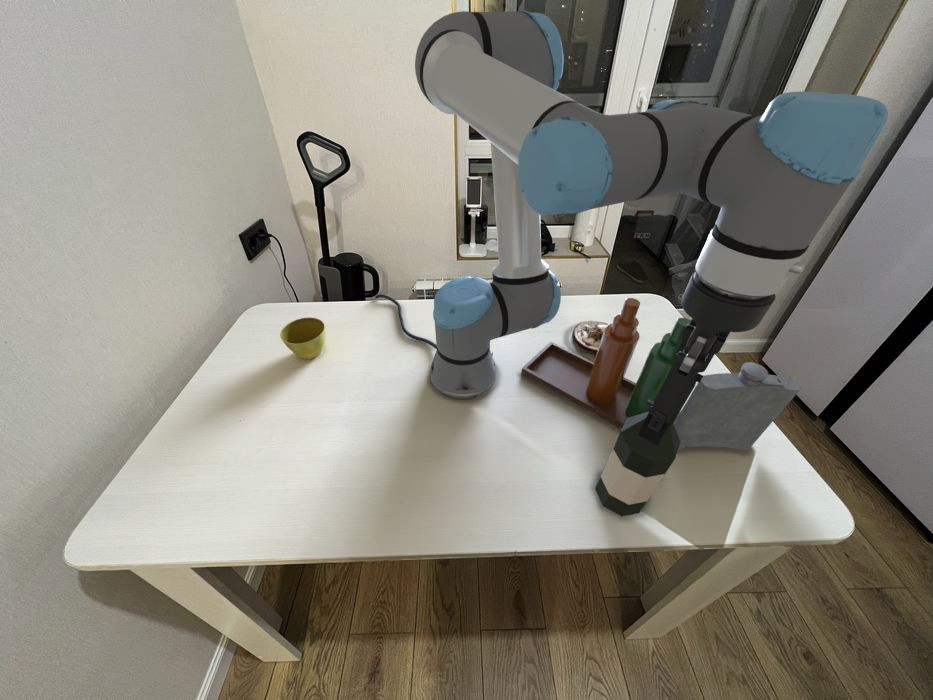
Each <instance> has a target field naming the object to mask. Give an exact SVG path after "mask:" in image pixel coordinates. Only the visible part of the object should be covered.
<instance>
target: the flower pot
mask: <svg viewBox="0 0 933 700" xmlns="http://www.w3.org/2000/svg"><path fill="white" fill-rule="evenodd" d="M279 337H280V339H281V341H282V342H283V344H284V345H285V346H286V347H287V349H289V350H290V351H291V352H292V353H293V354H295V355H296V356H298V357H300V358H302V359H305V360H311V359H315V358H317V357H318V356H320V355H321V353H322V352H323V349H324V346H325V344H326V343H325V342H326V325H325V323H324V321H323V320H321V319H320V318H317V317H308V316H307V317H300V318H297V319H294V320H292V321H290V322H288V323H287V324H285V326H283V327H282V329H281V331H280V334H279Z"/></svg>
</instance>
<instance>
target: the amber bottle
mask: <svg viewBox="0 0 933 700" xmlns="http://www.w3.org/2000/svg"><path fill="white" fill-rule="evenodd" d="M640 306H641V301H639V300H638V299H637V298H633V297H628V298H625V299H624V303H623V305H622V308H621V311H620V313H617V314H615V315H614V317H613V319H612V322H611V323H607V324H608V325H607V326H606V327H605V329H604V332H603V335H602V339H601V342H600V345H599V348H598V352H597V355H595V358H594V365H593V368H592V371H591V374H590V378H589V381H588V384H587V387H586V393H587V395H588V397H589V398H590V399H592V400H593V401H595V402H597V403H600V404H609V403H612V402H613V401H614V400H615V399H616V396H617V394H618V391H619V389H620V386H621V383H622V381H623V378H625V375H626V373H627V371H628V368H629V366H630V363H631V361H632V358H633V355H634V353H635V351H636V348H637V345H638V343H639V341H640V336H641V335H640V332H639V331H638V330H637V329H638V326H639V323H640V321H639V319H638V318H637V314H638V312H639V309H640Z"/></svg>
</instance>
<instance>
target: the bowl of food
mask: <svg viewBox="0 0 933 700" xmlns="http://www.w3.org/2000/svg"><path fill="white" fill-rule="evenodd" d="M608 324H609V323H607V322H603V321H597V320H585V321H581V322H579V323H578V324H576V325H575V326H574V329H573V331H572V333H571V339H572V343H574V344H575V345H576V346H577V348H578V349H580V350H582V351H583V352H586V353H589V354H593V355H595V356H596V355H597V352H598V348H599V345H600V342H601V339H602V335H603V332H604V329H605V327H606V326H607V325H608Z"/></svg>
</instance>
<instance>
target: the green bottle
mask: <svg viewBox="0 0 933 700" xmlns="http://www.w3.org/2000/svg"><path fill="white" fill-rule="evenodd" d="M691 320H692V319H689V318H686V317H678V318H677V319H676V321H675V323H674V325H673V327H672V329H671V332H667V333H664V334H663V336H662V338H661V339H660V342H656V343H654V344H653V345H652V346H651V347H650V350H649V352H648V354H647V357H646V359H645V362H644V364H643V366H642V368H641V370H640V373H639V375H638V378H637V380H636V381H635V383H636V385H635V387H634V389H633V392H632V394H631V396H630V398H629V401H628V403H627V405H626V408H625V413H626V415H627V417H628V418H629V417H632V416H636V415H639V414H642V413H646V412H648V411H649V408H650V406H648V405H646V404H647V402H648V400H649V399H652V400H654V401H655V399H656V397H657V395H658V393H659V391H660V389H661V387H662V385H663V383H664V381H665V379H666V377H667V375H668V373H669V371H670V369H671V367H672V365H673V363H674V359H673V357H674V355H675V353H676V351H677V349H678V347H679V345H680V344H681V342H682V340H681V336H682V334H683V332H684V331H685V329H686V327H687V325H688V324H689V325H690V322H691ZM685 347H686V346H685ZM684 350H685V348H684ZM684 350H683V353H684Z"/></svg>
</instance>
